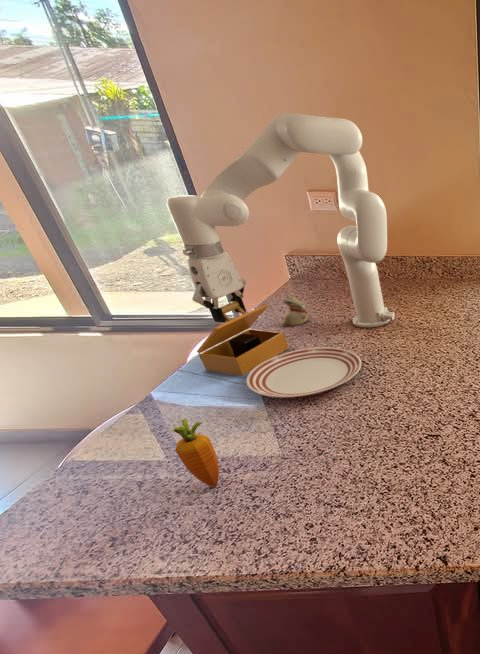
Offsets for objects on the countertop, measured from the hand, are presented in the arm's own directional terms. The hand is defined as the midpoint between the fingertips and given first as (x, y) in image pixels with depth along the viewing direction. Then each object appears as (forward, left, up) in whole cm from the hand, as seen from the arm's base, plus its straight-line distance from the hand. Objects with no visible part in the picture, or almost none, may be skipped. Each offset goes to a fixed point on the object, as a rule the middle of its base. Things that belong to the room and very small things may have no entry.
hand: (231, 316), depth 115 cm
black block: (-1, 0, -13) cm, 13 cm away
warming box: (-1, 0, -13) cm, 14 cm away
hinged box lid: (0, 0, -4) cm, 4 cm away
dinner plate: (-24, +5, -14) cm, 28 cm away
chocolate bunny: (+5, -27, -14) cm, 31 cm away
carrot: (-33, +44, -14) cm, 57 cm away
